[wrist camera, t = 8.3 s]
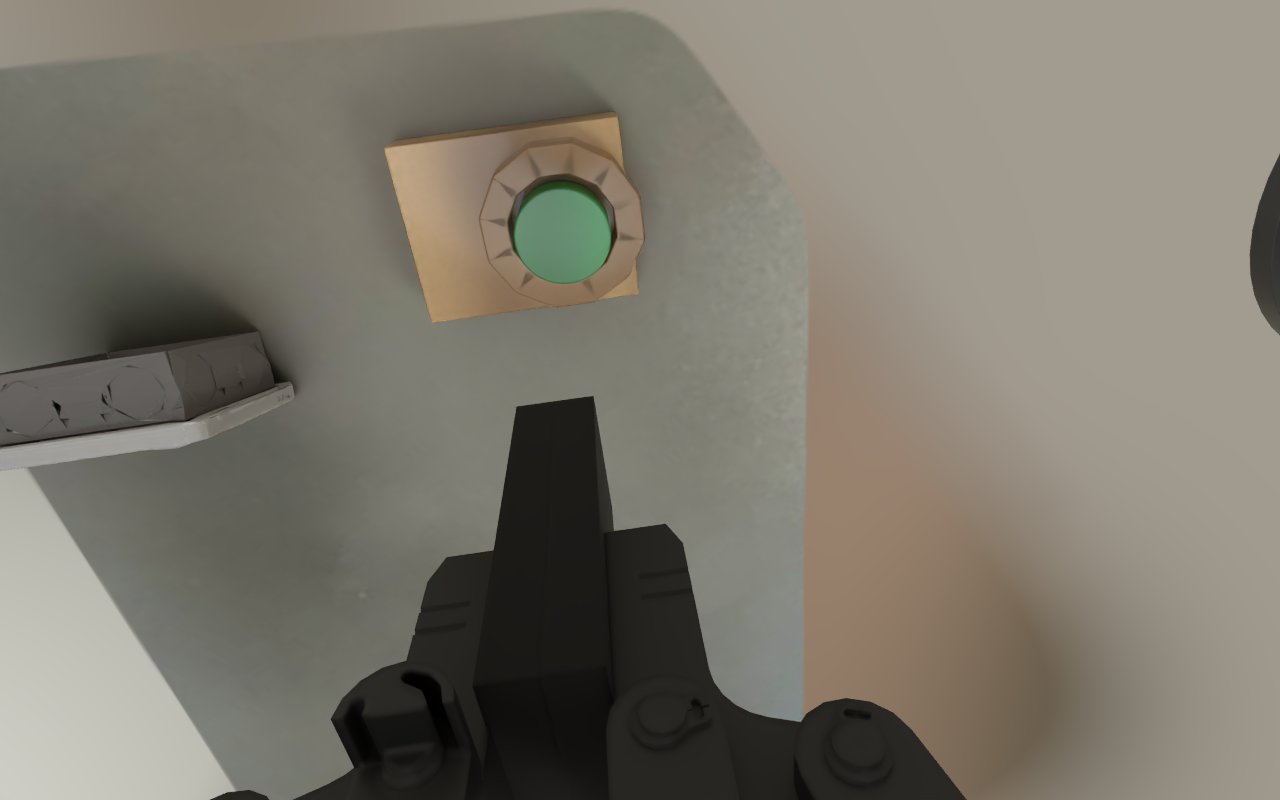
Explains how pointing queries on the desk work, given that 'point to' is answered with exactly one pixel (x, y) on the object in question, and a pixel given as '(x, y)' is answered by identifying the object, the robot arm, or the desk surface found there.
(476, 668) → the robot arm
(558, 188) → the power button
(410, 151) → the power button base
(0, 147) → the desk surface
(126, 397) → the electrical switch
